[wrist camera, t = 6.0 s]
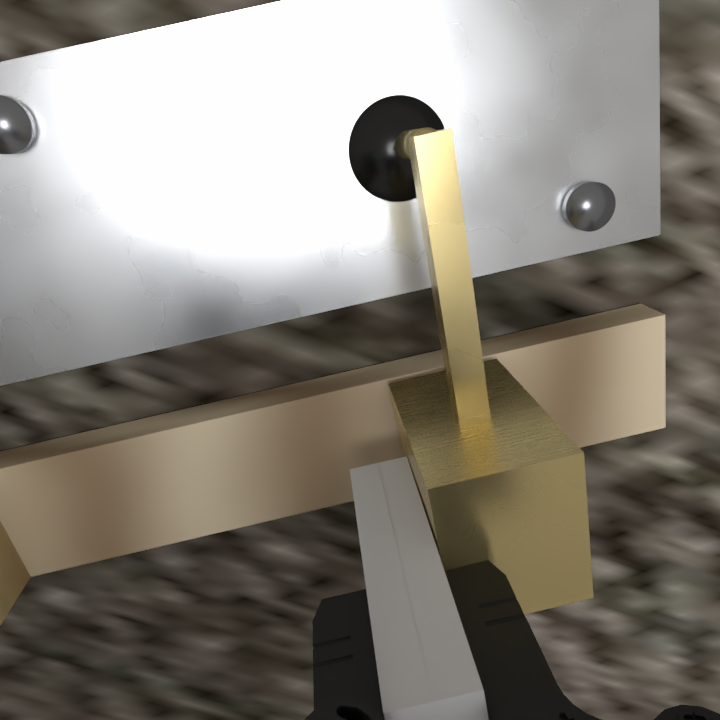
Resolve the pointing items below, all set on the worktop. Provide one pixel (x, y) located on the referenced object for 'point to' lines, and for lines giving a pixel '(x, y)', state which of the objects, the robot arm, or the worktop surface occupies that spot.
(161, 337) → the bolt plate
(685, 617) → the worktop surface
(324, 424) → the rail
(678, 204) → the worktop surface
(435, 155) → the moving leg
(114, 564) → the worktop surface
